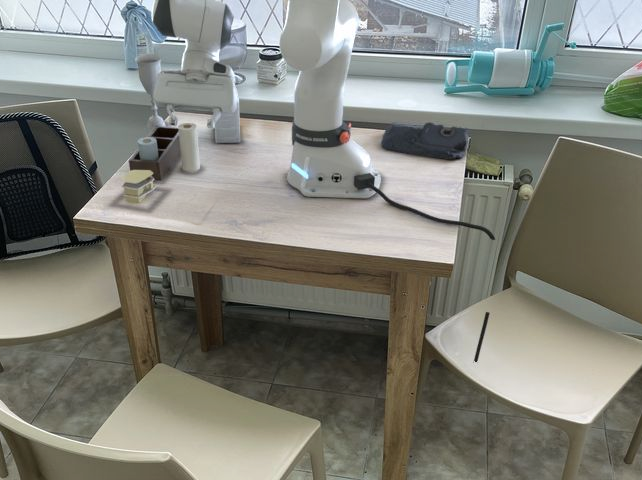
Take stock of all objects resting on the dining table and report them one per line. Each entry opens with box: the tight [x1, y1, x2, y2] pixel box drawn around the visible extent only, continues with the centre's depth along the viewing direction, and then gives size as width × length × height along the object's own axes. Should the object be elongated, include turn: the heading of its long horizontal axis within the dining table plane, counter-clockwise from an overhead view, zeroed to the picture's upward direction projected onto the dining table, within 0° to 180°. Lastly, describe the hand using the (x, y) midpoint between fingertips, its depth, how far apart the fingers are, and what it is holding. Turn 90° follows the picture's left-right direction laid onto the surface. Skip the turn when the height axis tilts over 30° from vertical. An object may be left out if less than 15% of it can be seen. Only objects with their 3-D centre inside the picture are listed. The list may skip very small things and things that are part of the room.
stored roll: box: [137, 136, 159, 161], centre depth 170 cm, size 4×4×8 cm
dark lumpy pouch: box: [380, 122, 470, 160], centre depth 186 cm, size 15×22×5 cm
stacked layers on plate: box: [121, 170, 156, 204], centre depth 162 cm, size 10×9×6 cm
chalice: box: [134, 53, 167, 130], centre depth 190 cm, size 7×7×18 cm
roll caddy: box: [128, 126, 181, 182], centre depth 176 cm, size 8×21×5 cm, turn 170°
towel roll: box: [177, 122, 201, 173], centre depth 172 cm, size 4×4×11 cm
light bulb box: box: [214, 88, 241, 144], centre depth 188 cm, size 11×7×11 cm, turn 6°
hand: (191, 126), depth 172 cm, fingers open, 8 cm apart
